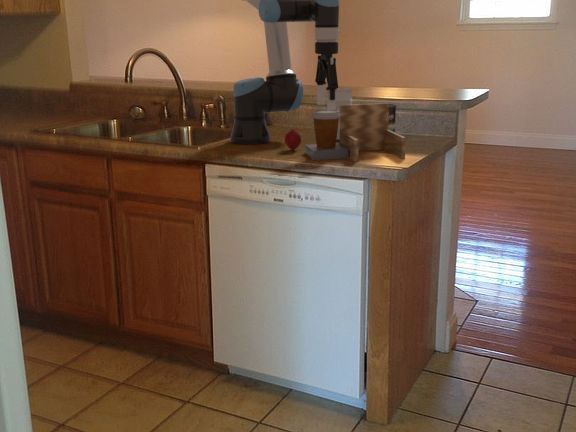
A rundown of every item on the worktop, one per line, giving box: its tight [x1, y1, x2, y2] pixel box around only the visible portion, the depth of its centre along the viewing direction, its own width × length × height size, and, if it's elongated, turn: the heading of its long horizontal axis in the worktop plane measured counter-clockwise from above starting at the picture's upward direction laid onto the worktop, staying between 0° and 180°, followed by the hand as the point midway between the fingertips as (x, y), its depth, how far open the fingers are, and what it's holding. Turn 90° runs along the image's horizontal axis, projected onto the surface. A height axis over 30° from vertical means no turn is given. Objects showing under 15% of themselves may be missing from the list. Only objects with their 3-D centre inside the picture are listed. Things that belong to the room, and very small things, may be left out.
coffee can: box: [388, 103, 397, 133], centre depth 241 cm, size 10×10×14 cm
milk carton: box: [336, 88, 353, 141], centre depth 252 cm, size 7×7×19 cm
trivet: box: [304, 142, 350, 161], centre depth 223 cm, size 12×12×3 cm
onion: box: [284, 127, 302, 151], centre depth 232 cm, size 6×6×8 cm
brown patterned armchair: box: [339, 102, 407, 162], centre depth 221 cm, size 17×18×16 cm
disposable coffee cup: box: [311, 108, 340, 148], centre depth 221 cm, size 10×10×12 cm
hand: (326, 107), depth 219 cm, fingers open, 13 cm apart
